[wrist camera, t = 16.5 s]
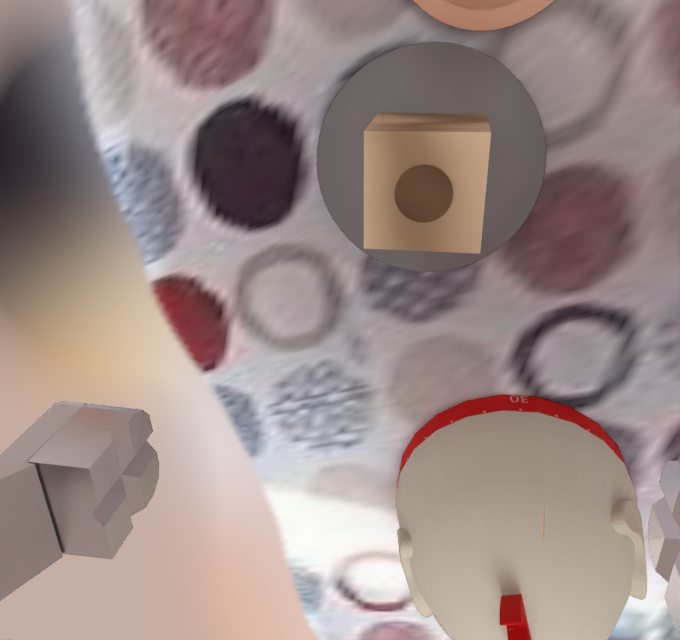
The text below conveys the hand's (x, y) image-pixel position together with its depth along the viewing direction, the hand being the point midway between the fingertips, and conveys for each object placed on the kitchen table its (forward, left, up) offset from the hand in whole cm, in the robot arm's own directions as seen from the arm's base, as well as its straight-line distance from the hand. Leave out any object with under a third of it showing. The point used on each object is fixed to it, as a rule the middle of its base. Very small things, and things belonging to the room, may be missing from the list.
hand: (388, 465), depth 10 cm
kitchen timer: (-6, +20, -23) cm, 31 cm away
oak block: (0, 0, -23) cm, 22 cm away
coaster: (0, 0, -23) cm, 23 cm away
